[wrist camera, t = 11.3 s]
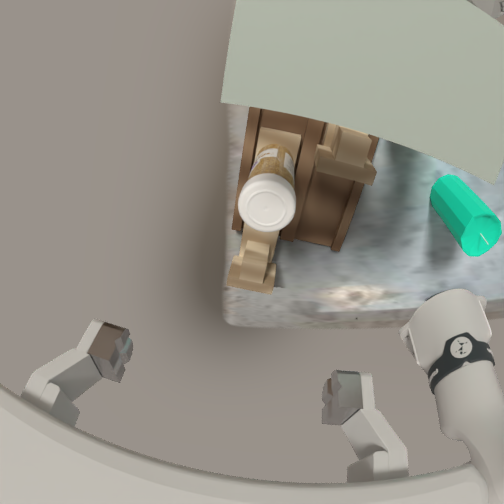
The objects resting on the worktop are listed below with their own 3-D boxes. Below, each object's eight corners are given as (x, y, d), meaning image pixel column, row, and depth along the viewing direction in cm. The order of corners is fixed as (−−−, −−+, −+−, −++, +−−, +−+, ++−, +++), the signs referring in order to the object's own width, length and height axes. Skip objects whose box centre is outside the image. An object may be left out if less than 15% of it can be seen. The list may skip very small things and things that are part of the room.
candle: (465, 172, 31) (511, 216, 22) (463, 209, 34) (502, 260, 25) (429, 176, 33) (470, 224, 23) (429, 215, 36) (463, 270, 26)
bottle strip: (274, 267, 43) (271, 294, 39) (234, 258, 43) (226, 285, 39) (306, 136, 31) (309, 150, 27) (255, 125, 32) (247, 137, 27)
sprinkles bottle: (260, 136, 32) (242, 175, 21) (298, 145, 32) (302, 189, 21) (252, 172, 35) (232, 227, 24) (289, 180, 35) (287, 240, 24)
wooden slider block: (361, 166, 32) (372, 185, 28) (313, 153, 33) (316, 171, 28) (392, 52, 24) (410, 52, 19) (340, 35, 24) (349, 30, 19)
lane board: (337, 244, 41) (339, 251, 40) (234, 222, 41) (231, 229, 40) (398, 41, 24) (403, 40, 22) (268, 7, 24) (267, 4, 22)
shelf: (391, 111, 29) (493, 185, 12) (265, 78, 29) (220, 102, 12) (407, 45, 23) (531, 48, 6) (277, 8, 24) (250, -66, 7)
